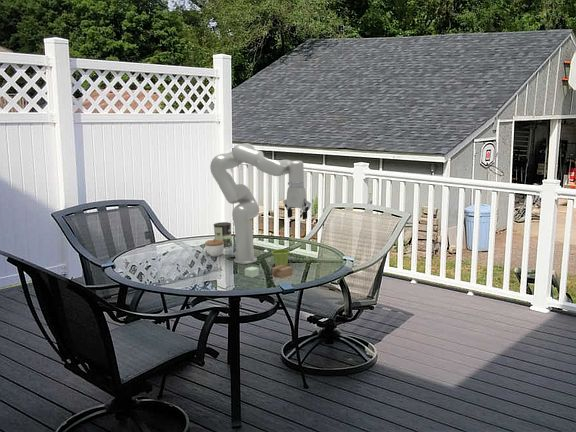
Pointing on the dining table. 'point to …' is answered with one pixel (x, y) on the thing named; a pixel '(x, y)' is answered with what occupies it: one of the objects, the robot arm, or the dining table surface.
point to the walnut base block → (282, 271)
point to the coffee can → (223, 233)
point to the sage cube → (251, 272)
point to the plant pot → (280, 257)
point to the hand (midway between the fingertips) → (297, 218)
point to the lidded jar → (214, 247)
